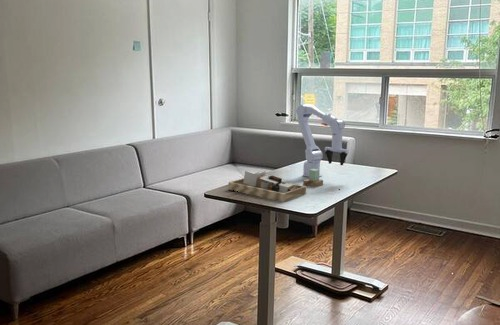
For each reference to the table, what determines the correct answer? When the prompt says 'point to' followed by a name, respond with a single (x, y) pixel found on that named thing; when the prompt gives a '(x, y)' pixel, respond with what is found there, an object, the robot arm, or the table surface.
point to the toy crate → (267, 191)
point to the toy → (267, 182)
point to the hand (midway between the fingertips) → (335, 164)
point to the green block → (314, 174)
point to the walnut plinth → (312, 183)
